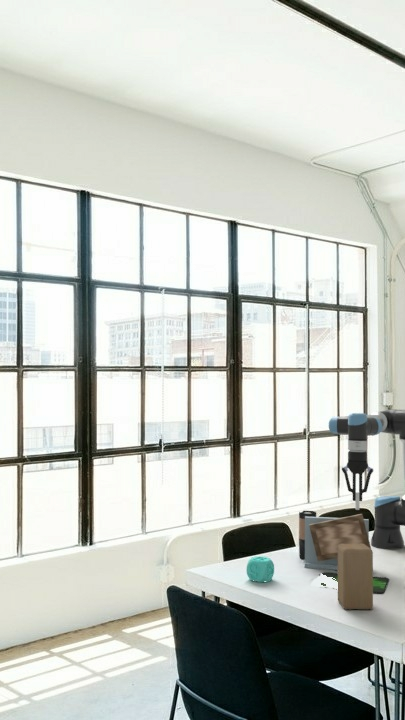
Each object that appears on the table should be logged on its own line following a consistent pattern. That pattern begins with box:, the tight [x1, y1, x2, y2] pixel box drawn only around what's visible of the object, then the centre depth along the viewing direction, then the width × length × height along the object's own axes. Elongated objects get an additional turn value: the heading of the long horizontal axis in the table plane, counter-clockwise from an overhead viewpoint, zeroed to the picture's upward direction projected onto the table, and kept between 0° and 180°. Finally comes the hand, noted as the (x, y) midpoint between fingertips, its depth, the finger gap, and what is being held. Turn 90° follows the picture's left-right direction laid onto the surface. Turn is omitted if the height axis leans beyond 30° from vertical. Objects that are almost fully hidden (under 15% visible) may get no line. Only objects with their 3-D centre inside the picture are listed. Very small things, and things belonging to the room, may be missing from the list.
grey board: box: [303, 516, 370, 570], centre depth 283 cm, size 26×8×20 cm, turn 79°
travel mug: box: [298, 510, 317, 561], centre depth 297 cm, size 8×8×20 cm
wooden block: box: [337, 544, 374, 610], centre depth 231 cm, size 10×10×20 cm
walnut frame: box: [309, 513, 372, 562], centre depth 277 cm, size 22×2×15 cm, turn 79°
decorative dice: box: [246, 556, 275, 583], centre depth 262 cm, size 8×8×8 cm
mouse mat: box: [321, 571, 390, 595], centre depth 259 cm, size 27×22×1 cm
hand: (357, 509), depth 276 cm, fingers closed
